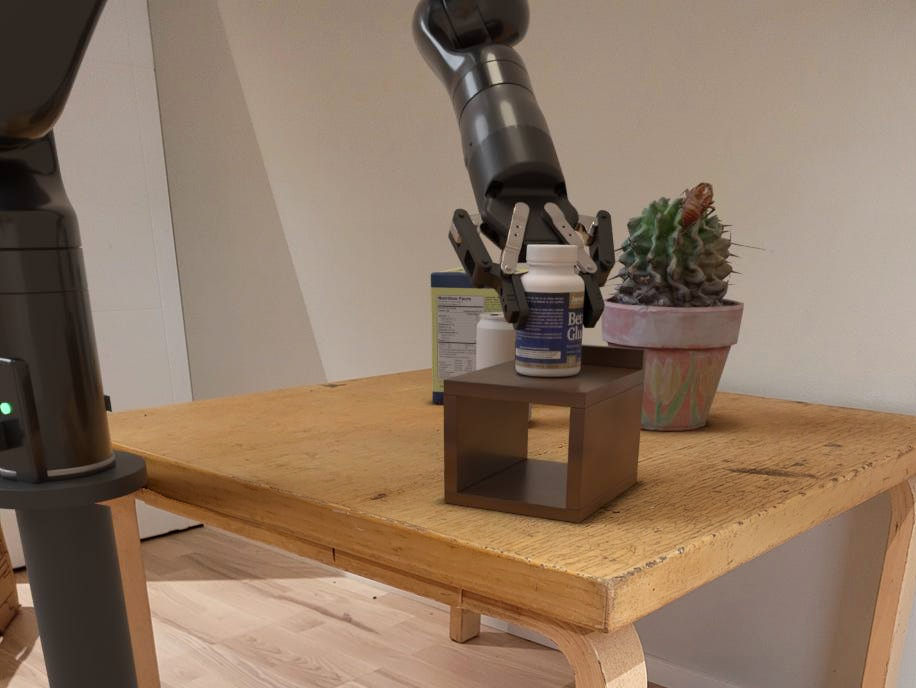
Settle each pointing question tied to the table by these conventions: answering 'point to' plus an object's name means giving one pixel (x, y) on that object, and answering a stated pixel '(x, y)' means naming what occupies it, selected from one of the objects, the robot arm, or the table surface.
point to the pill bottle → (551, 313)
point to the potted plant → (675, 307)
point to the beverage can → (495, 342)
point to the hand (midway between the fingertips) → (558, 321)
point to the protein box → (457, 324)
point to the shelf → (506, 436)
